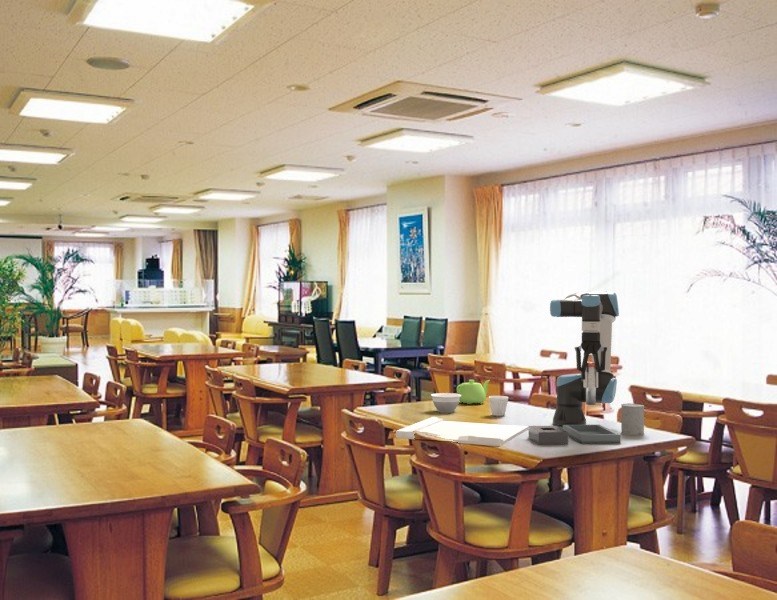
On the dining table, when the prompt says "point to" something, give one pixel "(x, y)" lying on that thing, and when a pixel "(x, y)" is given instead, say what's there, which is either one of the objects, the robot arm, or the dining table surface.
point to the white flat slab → (463, 431)
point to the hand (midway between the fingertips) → (590, 387)
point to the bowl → (446, 401)
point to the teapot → (472, 392)
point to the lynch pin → (591, 384)
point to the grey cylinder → (632, 419)
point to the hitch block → (548, 435)
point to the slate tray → (592, 434)
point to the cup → (498, 405)
